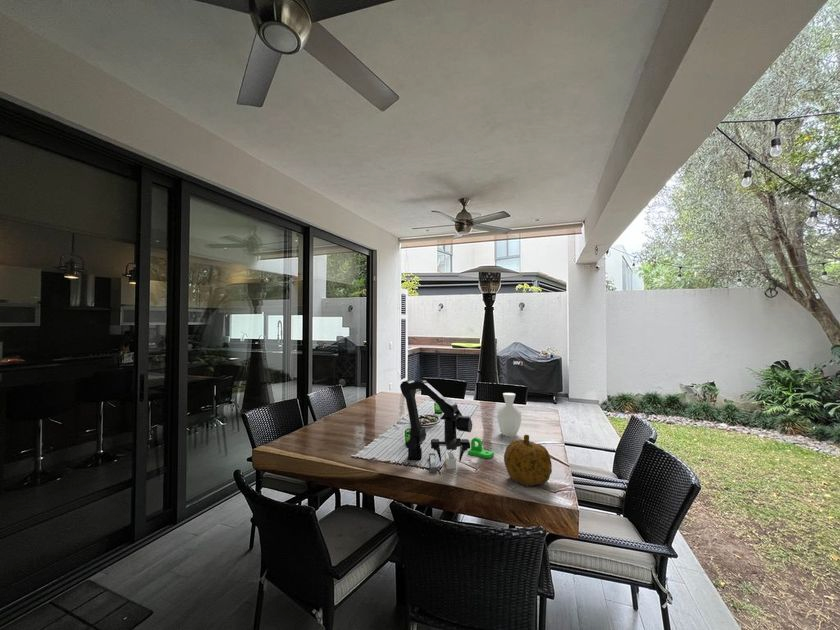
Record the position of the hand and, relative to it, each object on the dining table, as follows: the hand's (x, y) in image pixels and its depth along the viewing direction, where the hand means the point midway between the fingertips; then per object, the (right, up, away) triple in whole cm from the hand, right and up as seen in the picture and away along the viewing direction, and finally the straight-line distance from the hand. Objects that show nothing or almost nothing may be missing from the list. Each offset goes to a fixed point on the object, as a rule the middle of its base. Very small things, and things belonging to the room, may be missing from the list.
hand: (450, 461), depth 170 cm
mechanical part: (+17, -3, +14) cm, 22 cm away
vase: (+41, -3, +48) cm, 63 cm away
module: (0, -2, 0) cm, 2 cm away
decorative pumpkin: (+33, -2, -16) cm, 36 cm away
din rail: (-8, -2, -1) cm, 9 cm away
